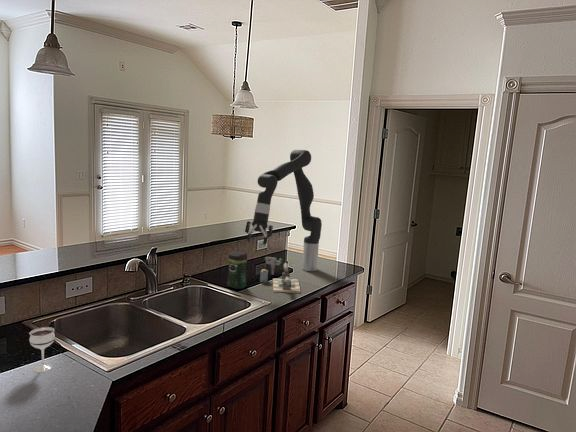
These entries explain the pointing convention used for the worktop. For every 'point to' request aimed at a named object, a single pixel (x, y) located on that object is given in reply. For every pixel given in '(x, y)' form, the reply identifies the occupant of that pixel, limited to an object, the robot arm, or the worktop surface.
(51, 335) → the wineglass
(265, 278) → the coupling block
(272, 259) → the mechanical component
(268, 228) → the robot arm
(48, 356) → the worktop surface
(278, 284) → the shaft rig
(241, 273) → the coffee jar
